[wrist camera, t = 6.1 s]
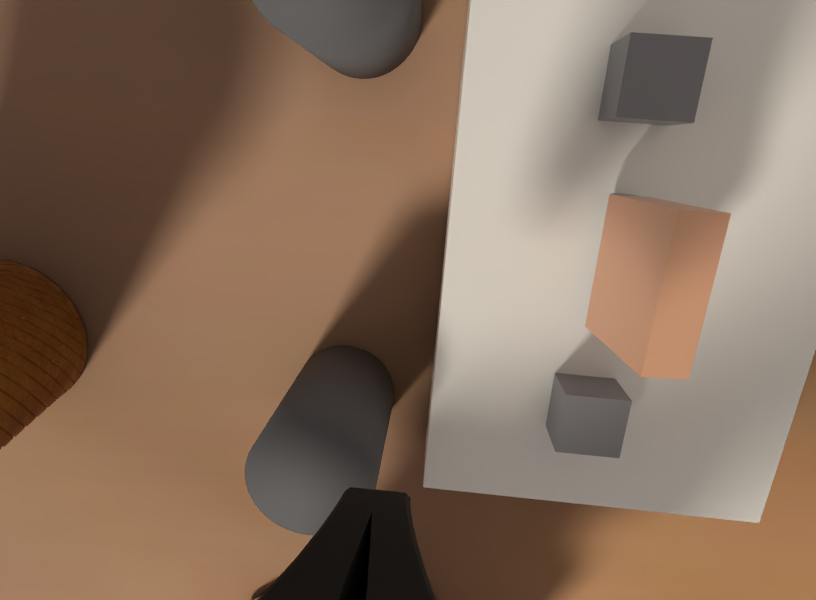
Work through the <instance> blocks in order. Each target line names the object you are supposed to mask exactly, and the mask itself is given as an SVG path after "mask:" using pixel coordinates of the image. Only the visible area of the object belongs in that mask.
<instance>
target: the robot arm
mask: <svg viewBox="0 0 816 600" xmlns="http://www.w3.org/2000/svg"><path fill="white" fill-rule="evenodd" d="M254 600H436V599H435V596H434V593H433V591H432V588H431V585H430V583H429V580H428V577H427V574H426V571H425V568H424V565H423V561H422V558H421V555H420V552H419V548H418V544H417V541H416V537H415V532H414V528H413V523H412V517H411V508H410V497H409V496H408V495H407V494H406V493H401V492H392V491H382V490H373V489H364V488H354V487H350V488H348V489H347V490H345V491H344V493H343V495H342V497H341V498H340V500H339V501H338V503H337V505H336V506H335V508H334V509H333V511H332V512H331V513H330V515H329V516H328V518H327V519H326V520H325V522H324V523H323V525H322V526H321V527H320V529H319V530H318V531H317V532H316V534H315V535H314V536H313V538H312V539H311V540H310V541H309V543H308V544H307V545H306V546H305V548H304V549H303V550H302V551H301V553H300V554H299V555H298V556H297V557H296V559H295V560H294V561H293V562H292V563H291V564H290V565H289V566H288V567H287V569H286V570H285V571H284V572H283V573H282V574H281V575H280V576H279V577H278V579H277V580H276V581H275V582H274V583H273V584H272V585H271V586H270V587H269V588H268V589H267V590H266V591H265V592H264V593H263V594H262V595H261V596H260V597H258V598H256V599H254Z"/></svg>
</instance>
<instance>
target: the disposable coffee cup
mask: <svg viewBox="0 0 816 600" xmlns="http://www.w3.org/2000/svg"><path fill="white" fill-rule="evenodd" d="M86 358H87V339H86V334H85V329H84V326H83V323H82V321H81V318H80V316H79V314H78V312H77V310H76V309H75V307H74V305H73V303H72V302H71V301H70V300H69V298H68V297H67V296H66V295H65V294H64V293H63V291H62V290H61V289H60V288H59V287H58V286H57V285H55V284H54V283H53V282H52V281H51V280H49V279H48V278H47V277H46V276H44V275H43V274H41V273H39V272H38V271H36V270H34V269H31V268H29V267H27V266H24V265H22V264H19V263H15V262H11V261H4V260H0V449H1V447H3V446H6V445H7V444H8V443H9V442H10V441H11V440H12V439H13V436H15V437H16V436H17V435H18V434H19V433H20V432H21V431H22V430H23V429H24V428H25V426H28V425H29V424H30V423H31V422H32V421H33V420H34V419H35V418H36V417H35V416H37V417H38V416H39V415H40V414H41V413H42V412H43V411H44V410H45V409H46V407H47V408H48V407H49V406H50V405H51V404H53V403H54V402H55V401H56V399H58V398H59V397H61V396H62V395H63V394H64V393H65V392H66V391H68V390H69V389H70V388H71V387H72V386H73V385H74V384H75V382H76V381H77V380H78V379H79V377H80V375H81V373H82V372H83V370H84V366H85V362H86Z"/></svg>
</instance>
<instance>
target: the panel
mask: <svg viewBox="0 0 816 600" xmlns="http://www.w3.org/2000/svg"><path fill="white" fill-rule="evenodd" d="M611 193H621V194H631V195H638V196H642V197H652V198H657V199H662V200H667V201H672V202H677V203H682V204H687V205H692V206H697V207H702V208H707V209H712V210H717V211H722V212H727V213H731V216H730V220H729V224H728V228H727V232H726V236H725V240H724V244H723V248H722V252H721V255H720V259H719V263H718V267H717V271H716V275H715V279H714V283H713V287H712V291H711V295H710V299H709V303H708V307H707V311H706V314H705V318H704V322H703V326H702V330H701V334H700V338H699V342H698V346H697V350H696V354H695V358H694V362H693V366H692V370H691V373H690V377H689V380H685V379H666V378H646V377H640V376H639V375H638V374H637V373H636V372H635V371H633V370H632V369H631V368H630V367H629V366H628V365H627V364H626V363H625V362H624V361H622V360H621V359H620V358H619V357H618V356H617V355H616V354H615V353H614V352H613V351H612V350H610V349H609V348H608V347H607V346H606V345H605V344H604V343H603V342H602V341H601V340H599V339H598V338H597V337H596V336H595V335H594V334H593V333H592V332H591V331H590V330H589V329H587V328H586V327H585V324H586V318H587V313H588V308H589V302H590V297H591V291H592V286H593V280H594V275H595V270H596V264H597V259H598V253H599V248H600V243H601V237H602V232H603V226H604V221H605V215H606V210H607V205H608V199H609V194H611ZM815 350H816V0H469V1H468V11H467V21H466V32H465V42H464V52H463V63H462V73H461V83H460V94H459V104H458V114H457V125H456V135H455V145H454V156H453V166H452V177H451V187H450V197H449V208H448V218H447V228H446V239H445V249H444V259H443V270H442V280H441V290H440V301H439V311H438V321H437V332H436V342H435V352H434V363H433V373H432V383H431V394H430V404H429V414H428V425H427V435H426V447H425V464H424V481H423V487H425V488H435V489H444V490H453V491H463V492H472V493H482V494H491V495H501V496H510V497H520V498H529V499H538V500H548V501H557V502H567V503H576V504H586V505H595V506H604V507H614V508H623V509H633V510H642V511H652V512H661V513H670V514H680V515H689V516H699V517H708V518H718V519H727V520H736V521H746V522H755V523H759V522H760V519H761V515H762V512H763V509H764V506H765V503H766V500H767V497H768V494H769V491H770V488H771V485H772V482H773V479H774V476H775V473H776V469H777V466H778V463H779V460H780V457H781V454H782V451H783V448H784V445H785V442H786V439H787V436H788V433H789V430H790V426H791V423H792V420H793V417H794V414H795V411H796V408H797V405H798V402H799V399H800V396H801V393H802V390H803V387H804V384H805V380H806V377H807V374H808V371H809V368H810V365H811V362H812V359H813V356H814V353H815Z"/></svg>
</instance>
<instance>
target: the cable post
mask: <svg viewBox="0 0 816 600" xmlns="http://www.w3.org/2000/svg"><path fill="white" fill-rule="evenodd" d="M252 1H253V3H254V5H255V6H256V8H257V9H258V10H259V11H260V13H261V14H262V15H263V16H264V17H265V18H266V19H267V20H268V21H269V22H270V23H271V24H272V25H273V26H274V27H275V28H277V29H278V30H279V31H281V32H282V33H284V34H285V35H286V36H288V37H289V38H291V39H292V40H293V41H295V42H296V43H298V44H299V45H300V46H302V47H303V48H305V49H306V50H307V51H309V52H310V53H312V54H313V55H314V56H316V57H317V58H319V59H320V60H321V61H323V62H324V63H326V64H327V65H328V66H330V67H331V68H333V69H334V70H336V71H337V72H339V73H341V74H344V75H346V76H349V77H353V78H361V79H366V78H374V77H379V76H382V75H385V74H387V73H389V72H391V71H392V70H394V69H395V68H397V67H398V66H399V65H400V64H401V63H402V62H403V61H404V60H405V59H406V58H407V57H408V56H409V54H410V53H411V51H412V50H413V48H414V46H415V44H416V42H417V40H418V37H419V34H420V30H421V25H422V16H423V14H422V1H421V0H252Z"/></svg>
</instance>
